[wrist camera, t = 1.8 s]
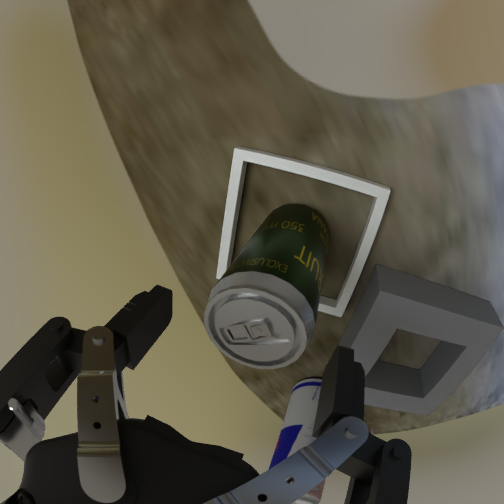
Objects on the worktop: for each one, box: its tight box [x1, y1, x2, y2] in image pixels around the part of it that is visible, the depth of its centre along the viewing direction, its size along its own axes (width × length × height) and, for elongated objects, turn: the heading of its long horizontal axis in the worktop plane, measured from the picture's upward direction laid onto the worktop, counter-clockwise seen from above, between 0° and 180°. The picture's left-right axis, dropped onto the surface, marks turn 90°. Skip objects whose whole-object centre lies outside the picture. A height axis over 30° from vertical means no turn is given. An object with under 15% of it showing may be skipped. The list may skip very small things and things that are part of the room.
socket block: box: [338, 264, 504, 415], centre depth 22 cm, size 13×13×4 cm
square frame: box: [216, 147, 391, 317], centre depth 23 cm, size 12×12×1 cm
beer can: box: [204, 204, 330, 369], centre depth 18 cm, size 5×5×12 cm
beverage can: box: [269, 378, 326, 504], centre depth 24 cm, size 6×6×15 cm
